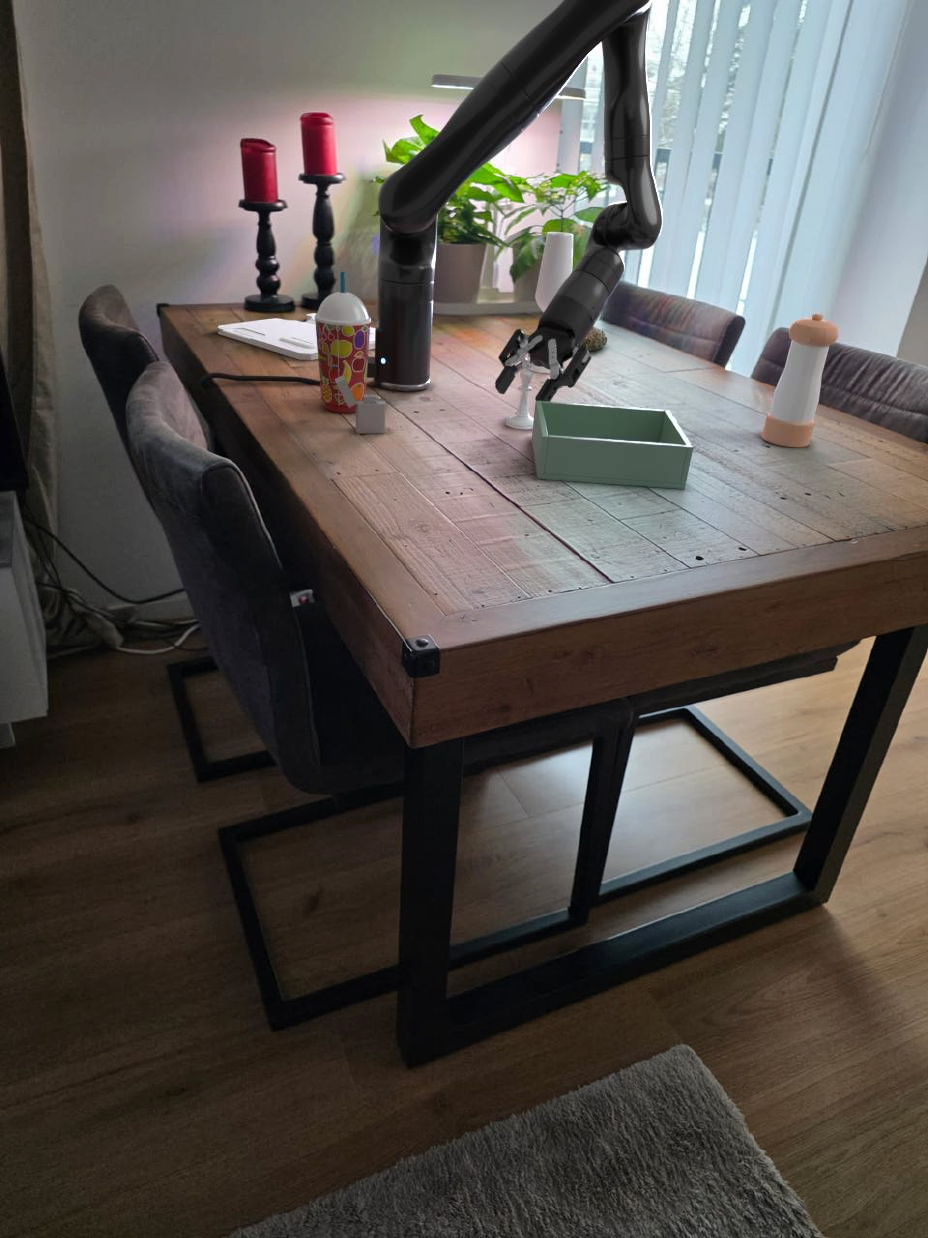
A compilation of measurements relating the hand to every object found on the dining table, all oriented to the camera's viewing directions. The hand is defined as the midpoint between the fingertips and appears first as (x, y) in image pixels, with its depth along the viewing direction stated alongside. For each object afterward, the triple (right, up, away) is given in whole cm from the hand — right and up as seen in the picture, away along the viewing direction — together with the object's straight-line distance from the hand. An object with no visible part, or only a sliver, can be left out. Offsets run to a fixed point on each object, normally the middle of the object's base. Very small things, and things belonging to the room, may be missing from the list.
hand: (518, 397), depth 129 cm
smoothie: (-27, -1, +5) cm, 28 cm away
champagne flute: (+7, +14, +35) cm, 39 cm away
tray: (-39, +24, +45) cm, 64 cm away
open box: (+11, -12, -10) cm, 19 cm away
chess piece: (+1, -4, +3) cm, 5 cm away
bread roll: (+16, +25, +56) cm, 63 cm away
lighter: (-24, -7, -5) cm, 25 cm away
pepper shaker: (+43, -5, +6) cm, 43 cm away
